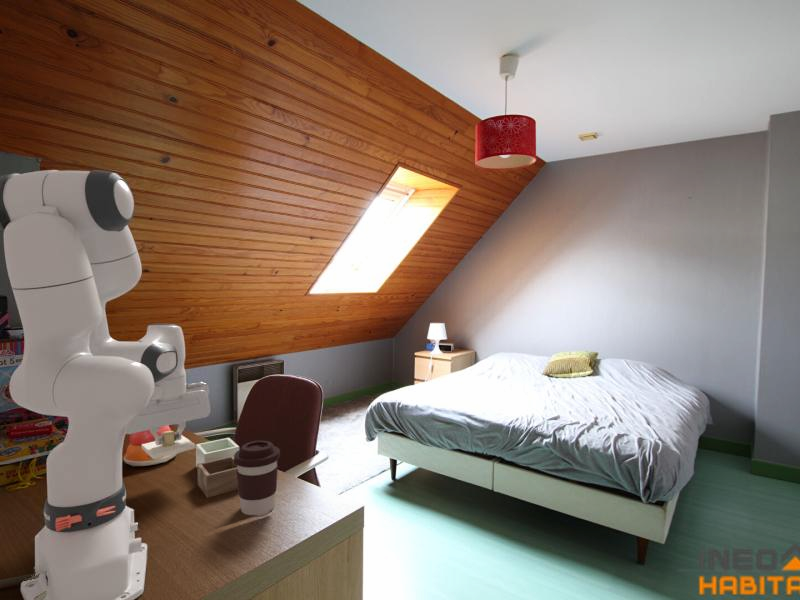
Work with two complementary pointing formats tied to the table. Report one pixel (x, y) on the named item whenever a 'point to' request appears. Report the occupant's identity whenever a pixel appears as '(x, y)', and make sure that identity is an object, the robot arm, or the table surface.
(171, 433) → the lid
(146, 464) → the stacking toy
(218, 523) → the table surface
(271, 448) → the coffee cup
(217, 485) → the box
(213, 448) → the planter
